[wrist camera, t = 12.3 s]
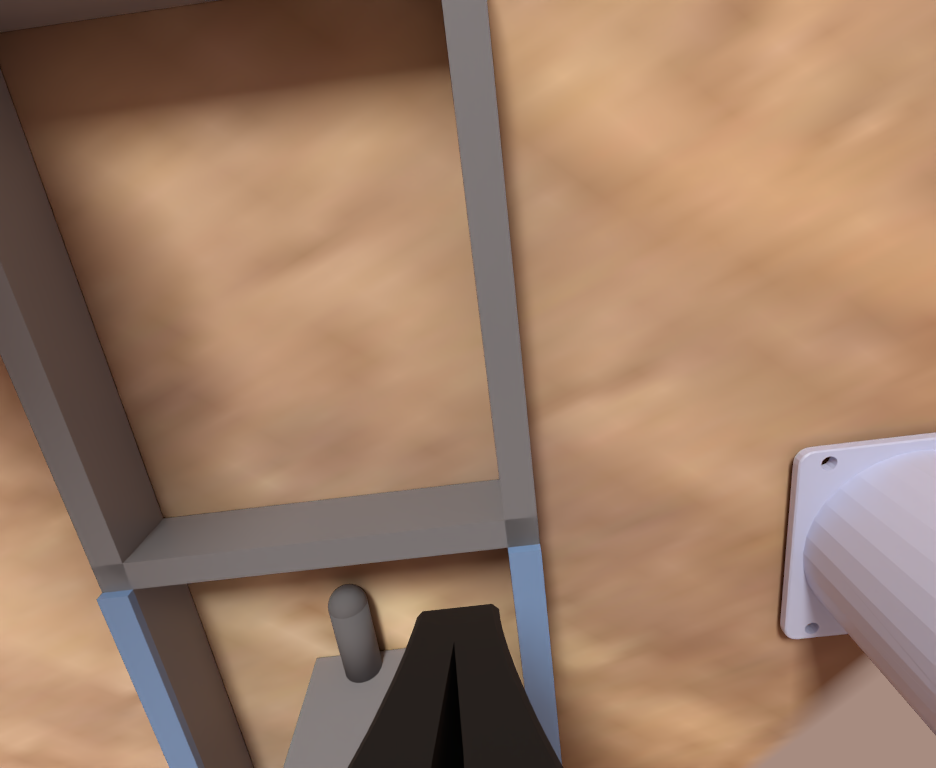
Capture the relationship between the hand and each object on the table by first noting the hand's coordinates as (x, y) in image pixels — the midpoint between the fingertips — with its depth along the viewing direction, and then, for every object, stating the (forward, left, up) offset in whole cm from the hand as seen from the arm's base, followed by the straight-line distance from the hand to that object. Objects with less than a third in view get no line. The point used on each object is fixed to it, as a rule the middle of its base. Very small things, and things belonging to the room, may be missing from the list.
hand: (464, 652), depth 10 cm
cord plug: (+5, +11, -9) cm, 15 cm away
